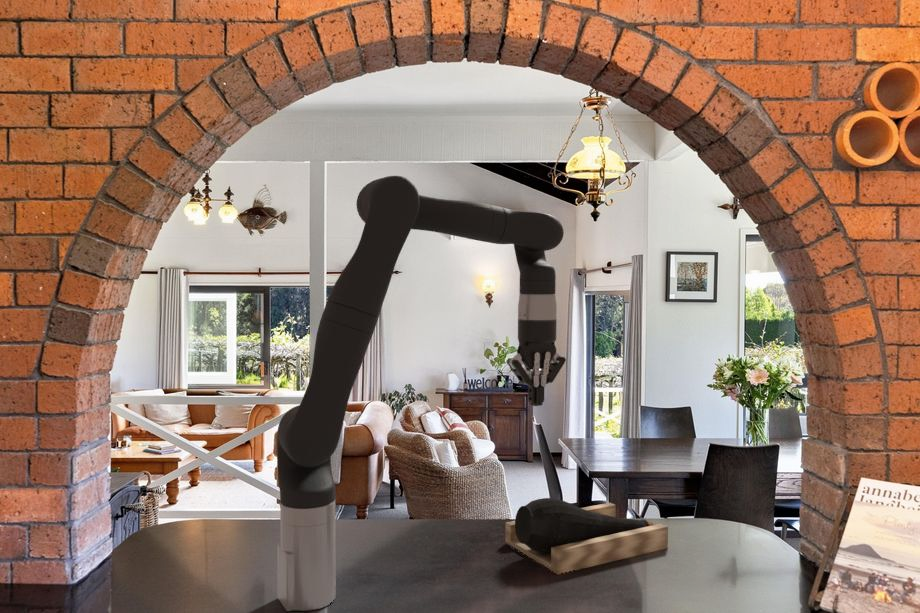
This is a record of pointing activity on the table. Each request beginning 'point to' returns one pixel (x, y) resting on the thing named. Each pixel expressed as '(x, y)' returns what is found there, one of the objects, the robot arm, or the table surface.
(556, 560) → the trough
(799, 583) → the table surface
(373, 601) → the table surface
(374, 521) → the table surface
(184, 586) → the table surface
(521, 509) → the bottle
